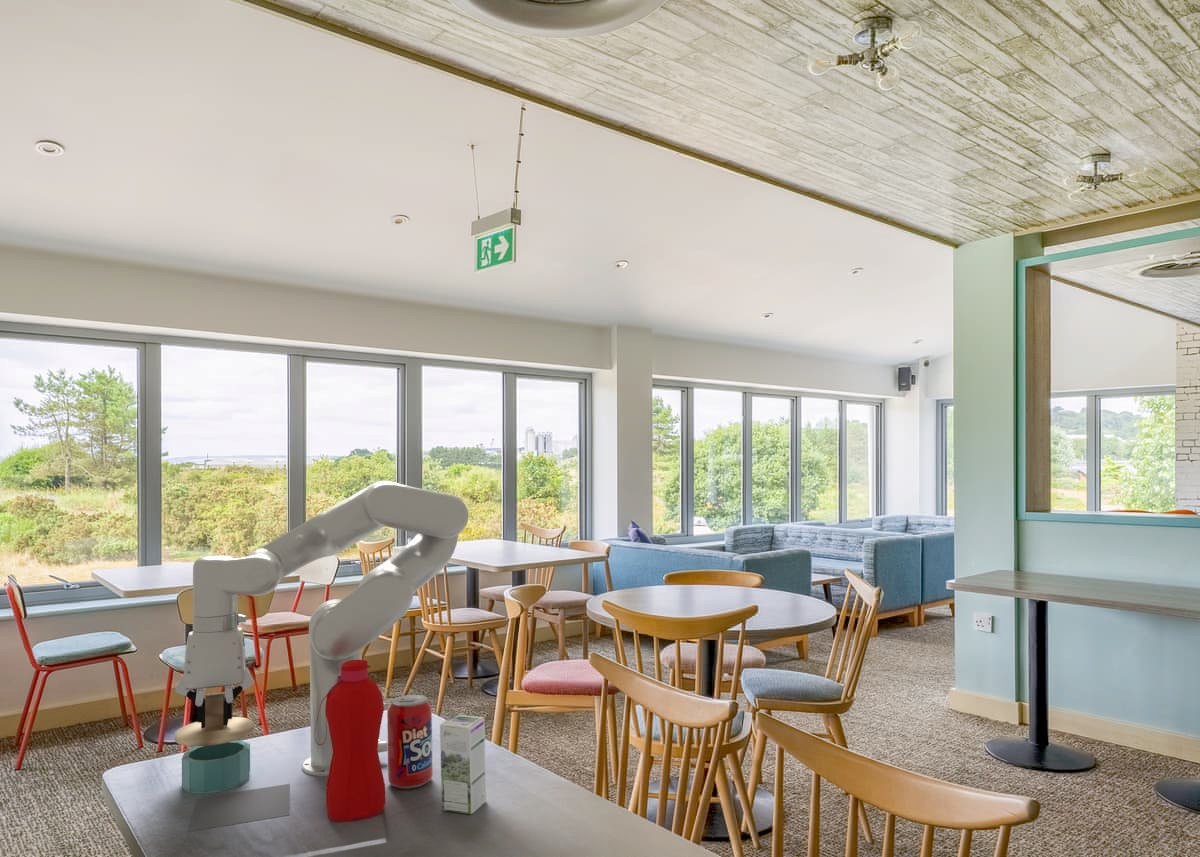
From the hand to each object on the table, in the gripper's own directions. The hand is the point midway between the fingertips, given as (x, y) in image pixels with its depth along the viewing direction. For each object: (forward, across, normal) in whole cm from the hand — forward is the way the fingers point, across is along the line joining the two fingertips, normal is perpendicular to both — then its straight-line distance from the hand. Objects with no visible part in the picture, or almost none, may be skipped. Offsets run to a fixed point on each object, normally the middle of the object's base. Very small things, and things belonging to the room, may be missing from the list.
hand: (214, 723), depth 150 cm
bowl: (+11, 0, 0) cm, 11 cm away
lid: (+2, 0, 0) cm, 2 cm away
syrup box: (+11, -40, +28) cm, 50 cm away
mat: (+11, -5, +14) cm, 19 cm away
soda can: (+11, -33, +14) cm, 38 cm away
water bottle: (+11, -22, +23) cm, 34 cm away
